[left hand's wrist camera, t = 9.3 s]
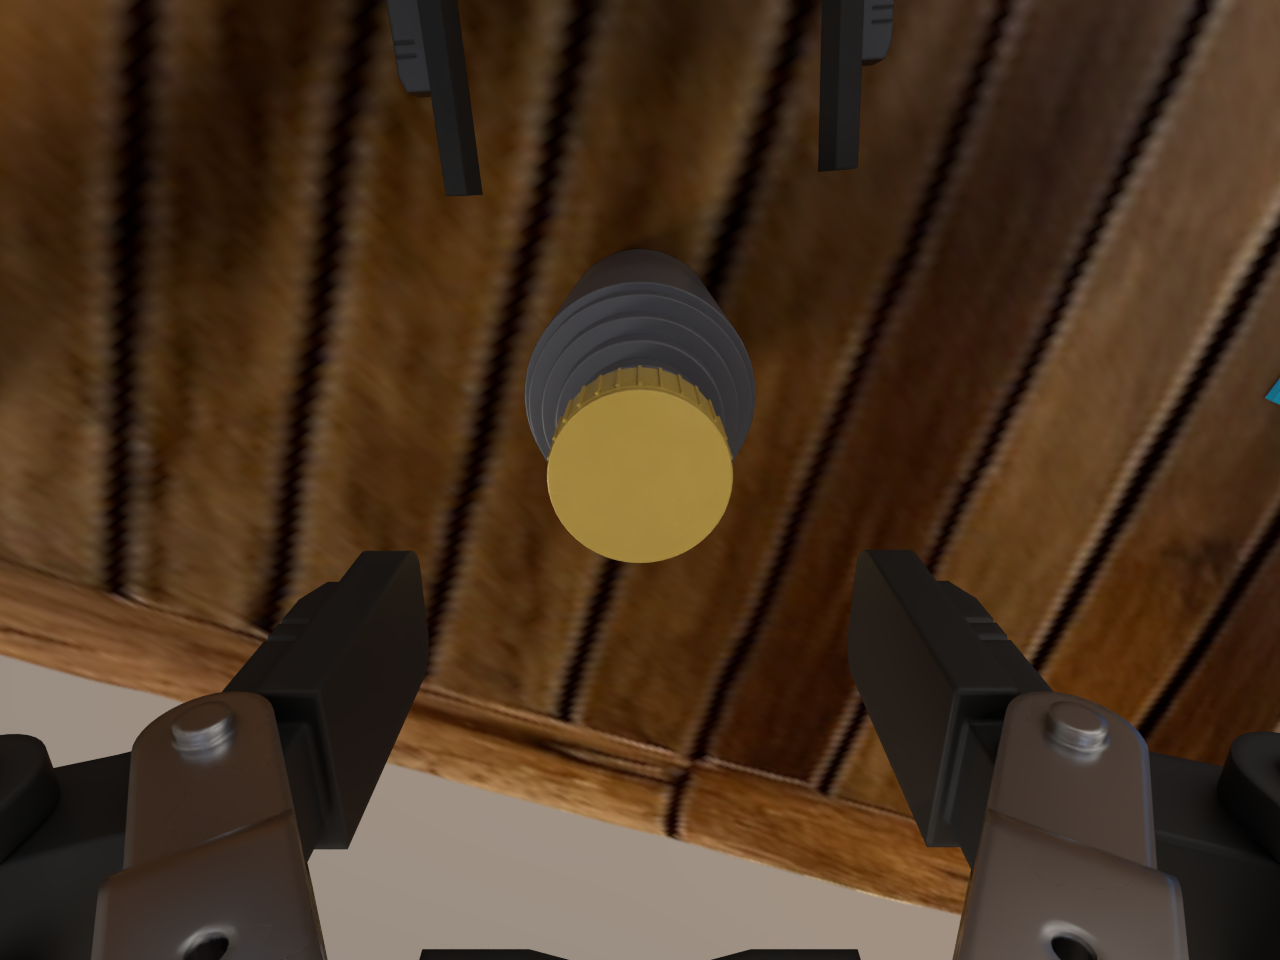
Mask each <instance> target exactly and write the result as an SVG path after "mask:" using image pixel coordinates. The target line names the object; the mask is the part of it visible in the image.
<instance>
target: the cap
mask: <svg viewBox="0 0 1280 960" xmlns="http://www.w3.org/2000/svg"><path fill="white" fill-rule="evenodd" d="M552 440H553V443H552V445H551V448H550V451H549V454H548V457H547V460H549V461H548V468H547V484H548V492H549V495H550V499H551V503H552V505H553V507H554V510H555V512H556V514H557V516H558V517H559V519H560V521H561V523H562V524H563V525H564V526H565V528H566V529H567V530H568V531H569V532H570V533H571V534H572V535H573V536H574V537H575V538H576V539H577V540H578V541H579V542H581V543H582V544H583V545H584V546H586V547H587V548H589V549H591V550H593V551H594V552H596V553H598V554H601V555H603V556H605V557H608V558H612V559H615V560H619V561H625V562H634V563H646V562H655V561H661V560H665V559H668V558H672V557H675V556H677V555H679V554H682V553H684V552H686V551H687V550H689V549H691V548H692V547H694V546H696V545H697V544H698V543H699V542H701V541H702V540H703V539H704V538H705V537H706V536H707V535H708V534H709V533H710V532H711V531H712V530H713V529H714V528H715V526H716V525H717V524H718V522H719V521H720V519H721V517H722V516H723V514H724V512H725V510H726V507H727V505H728V503H729V499H730V495H731V491H732V483H733V468H732V461H731V460H733V457H732V454H731V451H730V448H729V445H728V442H727V440H728V439H727V436H726V433H725V430H724V427H723V424H722V422H721V419H720V416H716V414H715V411H714V408H713V405H712V403H711V400H710V399H708V400H707V399H706V398H705V397H704V396H703V394H702V393H701V392H700V391H699V389H698V386H696V385H695V386H693V385H692V384H690V383H689V382H687V381H686V380H684V379H683V378H682V377H681V375H679V374H678V375H677V376H676V375H674V374H672V373H669V372H666V371H663V370H662V368H658V369H653V368H643V367H642V366H641V365H638V367H637V368H626V369H621V368H618V370H617V371H614V372H611V373H608V374H606V375H604V376H602V374H601V375H599V376H598V378H597V379H596V380H594V381H593V382H591V383H590V384H588V385H587V386H585V385H584V386H582V388H581V391H580V392H579V393H578V394H577V396H576V397H575V398H574V399H573V400H571V399H570V400H569V402H568V405H567V408H566V411H565V414H564V416H563V417H562V416H560V419H559V422H558V424H557V427H556V430H555V433H554V436H553V438H552Z"/></svg>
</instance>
